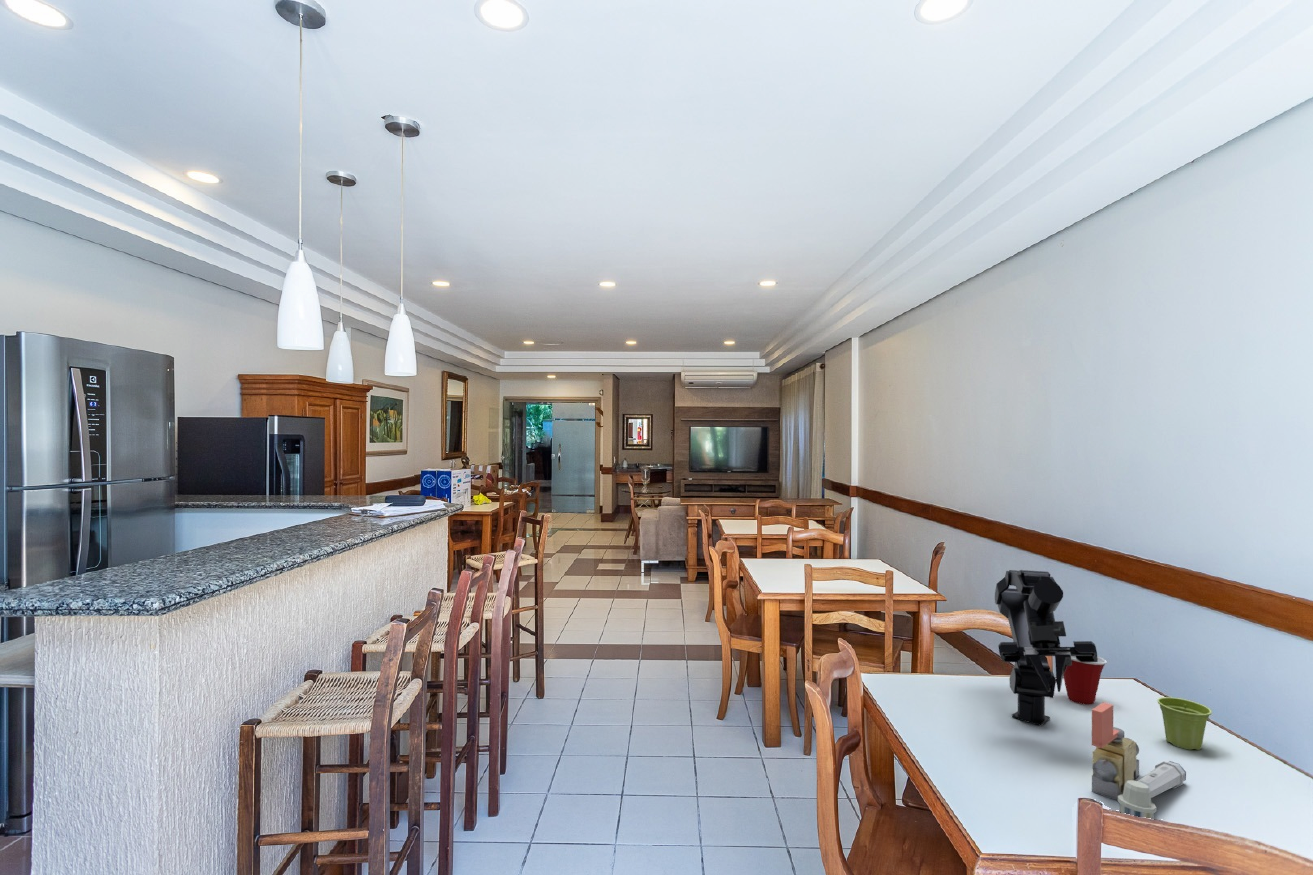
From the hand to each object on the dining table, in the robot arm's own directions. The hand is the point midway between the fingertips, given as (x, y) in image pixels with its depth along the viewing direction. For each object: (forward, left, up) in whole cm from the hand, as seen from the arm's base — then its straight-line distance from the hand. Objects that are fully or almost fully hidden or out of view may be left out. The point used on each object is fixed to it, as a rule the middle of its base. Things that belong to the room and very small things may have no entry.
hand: (1053, 691), depth 139 cm
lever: (+10, +12, -3) cm, 16 cm away
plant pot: (-27, +17, -13) cm, 35 cm away
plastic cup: (-38, -6, -13) cm, 41 cm away
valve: (+6, +13, -13) cm, 19 cm away
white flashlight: (+7, +19, -13) cm, 24 cm away
